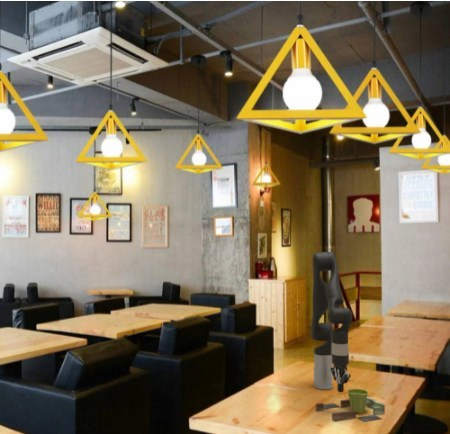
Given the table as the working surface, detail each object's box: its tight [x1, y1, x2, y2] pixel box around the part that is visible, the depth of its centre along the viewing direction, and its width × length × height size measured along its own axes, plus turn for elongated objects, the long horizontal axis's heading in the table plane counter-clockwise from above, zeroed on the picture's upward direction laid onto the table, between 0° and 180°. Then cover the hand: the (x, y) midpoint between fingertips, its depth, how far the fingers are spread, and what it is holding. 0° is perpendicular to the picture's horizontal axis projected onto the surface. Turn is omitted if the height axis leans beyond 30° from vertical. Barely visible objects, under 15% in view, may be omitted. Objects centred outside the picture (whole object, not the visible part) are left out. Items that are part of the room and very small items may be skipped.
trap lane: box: [315, 395, 386, 423], centre depth 233 cm, size 25×26×4 cm
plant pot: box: [346, 388, 369, 414], centre depth 234 cm, size 9×9×9 cm
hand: (340, 391), depth 232 cm, fingers closed
